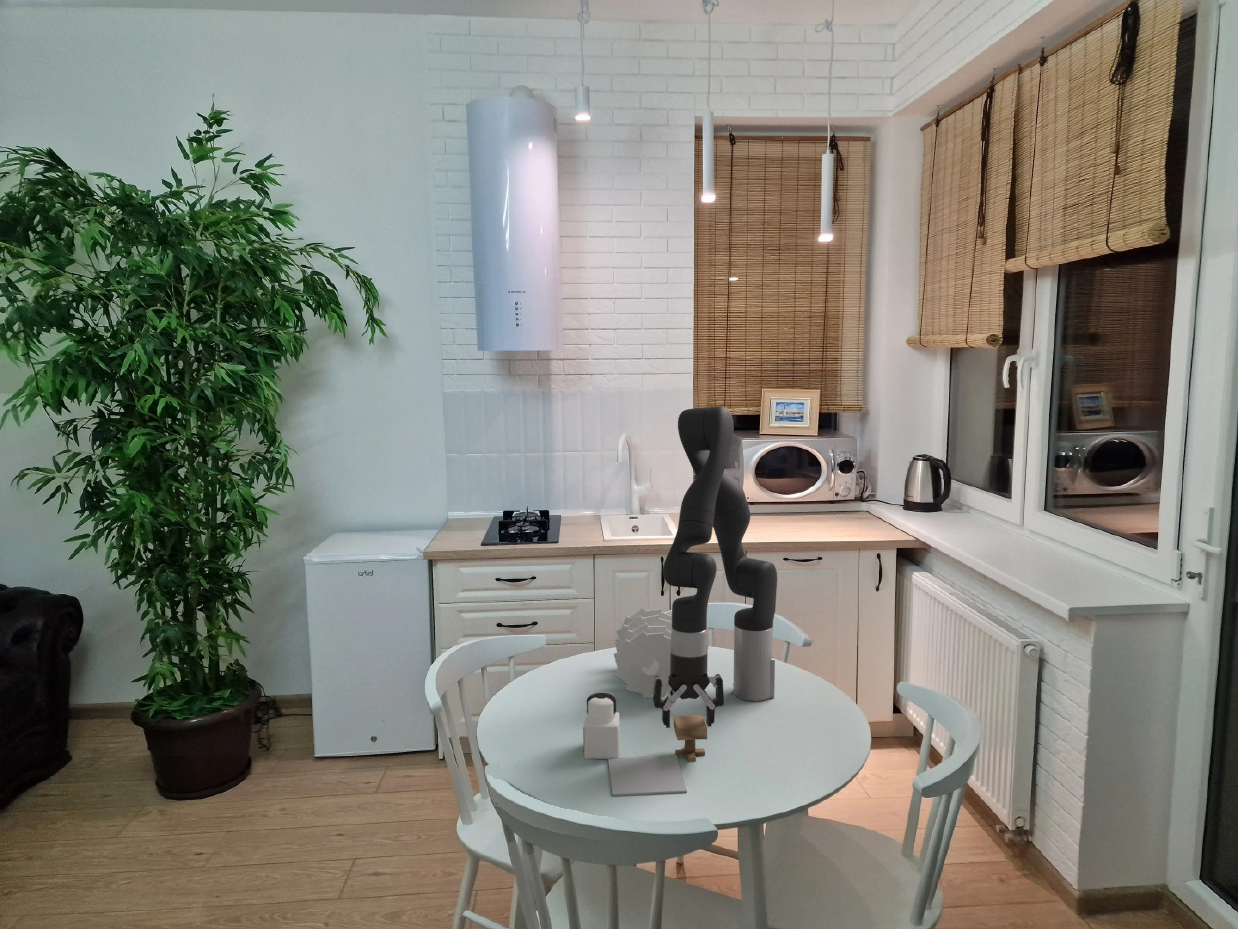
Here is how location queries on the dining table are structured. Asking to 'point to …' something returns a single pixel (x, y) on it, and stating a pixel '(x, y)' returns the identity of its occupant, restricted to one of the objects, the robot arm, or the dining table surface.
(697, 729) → the wooden pedestal stool
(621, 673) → the spiral staircase
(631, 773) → the mat
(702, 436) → the robot arm
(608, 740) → the blocky figurine
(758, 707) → the dining table surface
